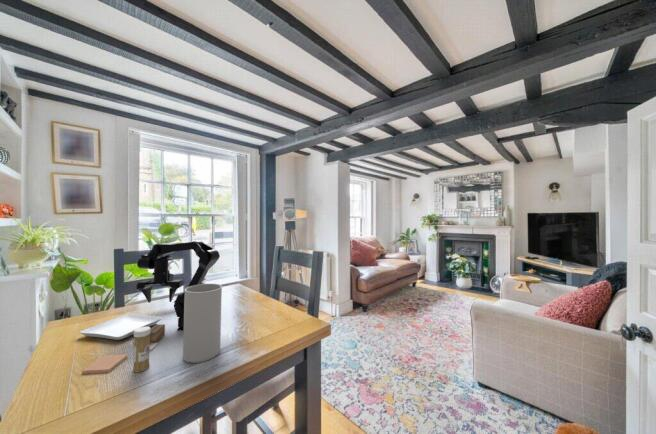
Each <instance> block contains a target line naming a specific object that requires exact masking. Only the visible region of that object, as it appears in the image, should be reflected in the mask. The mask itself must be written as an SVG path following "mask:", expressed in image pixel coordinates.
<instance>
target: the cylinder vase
mask: <svg viewBox="0 0 656 434" xmlns="http://www.w3.org/2000/svg"><path fill="white" fill-rule="evenodd" d="M222 290H223V285H221V284H218V283H201V284H200V285H194V286H190V287H188V286H187V287H186V288H185V289H184V292H185V298H184V330H183V337H182V339H183V341H182V343H183V344H182V346H183V347H182V358H183V360H184V361H185V362H187V363H192V364H195V363H196V364H198V363H204V362H206V361H209V360H212V359H214V358H215V357H216V356H217V355H218V354H219V353H220V352H221V335H222V334H221V330H222V326H221V325H222Z"/></svg>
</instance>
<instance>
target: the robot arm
mask: <svg viewBox="0 0 656 434" xmlns="http://www.w3.org/2000/svg"><path fill="white" fill-rule="evenodd" d="M191 250H192V251H194V253H195V255H196V256H197V257H198V258H199V259H198V267H197V269H196V271H195V273H194V275H193V276H192V278H191V280H190V282H189V284H188V286H187V287H190V286H194V285H200V284H203V281H204V279H206V278H205V277H206V275H207V274H208V272H209V270H210V268H212V267H213V266H215V264H216V263H217V262H218V260H219V259H220V258H221V257H220V252H219V251H218V249H214V248H213V247H212V246H209V245H208V244H206V243H205V242H204V241H202V240H193V241H187V242H180V243H172V242H164V243H163V242H162V243H156V244H153V246H152V248H151V250H150V251H149V253H148V254H142V255H141V256H140V258H139V259H138V261H137V263H136V265H137V268H138V269H143V270H153V272H152V276H153V281H152V280H151V279H145V280H143V279H142V280H141V281H138V282H137V283H136V285H135V290H138V291H141V293H142V294H143V295H144V297H145V299H146V300H147V302H148V304H149V303H151V302H152V288H153V287H167V286H169V289H168V295H169V297H168V300H169V302H170V303H171V302H172V301H173V299H174V296H175V293H176V292H177V290H178V289H180V288H181V287H182V286H183V287H184V285H185V282H184V280H183V279H174V274H173V273H170V269H169V261H173V260H174V258H173V257H172V256H171V255H170V254H173V253H176V252H181V251H191ZM184 298H185V291H184V292H182V293H179V294H177V295H176V298H175V300H174V301H173V309H174V312H175V314H176V317H177V331H184Z"/></svg>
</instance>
